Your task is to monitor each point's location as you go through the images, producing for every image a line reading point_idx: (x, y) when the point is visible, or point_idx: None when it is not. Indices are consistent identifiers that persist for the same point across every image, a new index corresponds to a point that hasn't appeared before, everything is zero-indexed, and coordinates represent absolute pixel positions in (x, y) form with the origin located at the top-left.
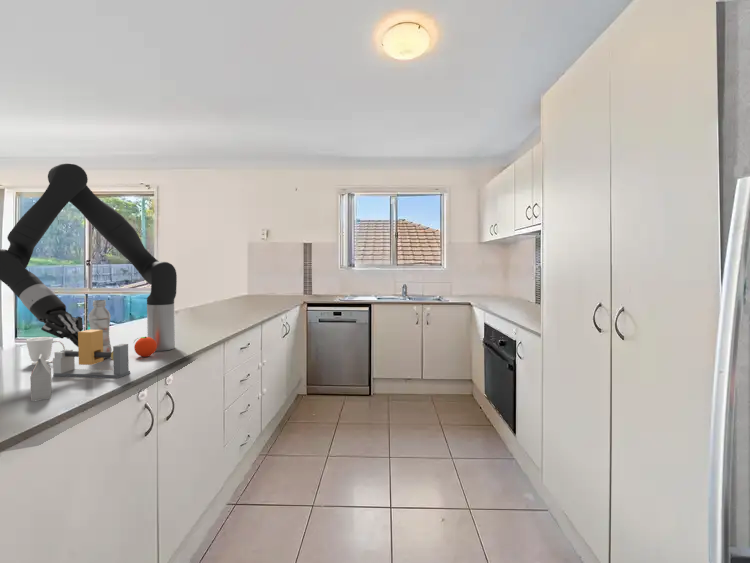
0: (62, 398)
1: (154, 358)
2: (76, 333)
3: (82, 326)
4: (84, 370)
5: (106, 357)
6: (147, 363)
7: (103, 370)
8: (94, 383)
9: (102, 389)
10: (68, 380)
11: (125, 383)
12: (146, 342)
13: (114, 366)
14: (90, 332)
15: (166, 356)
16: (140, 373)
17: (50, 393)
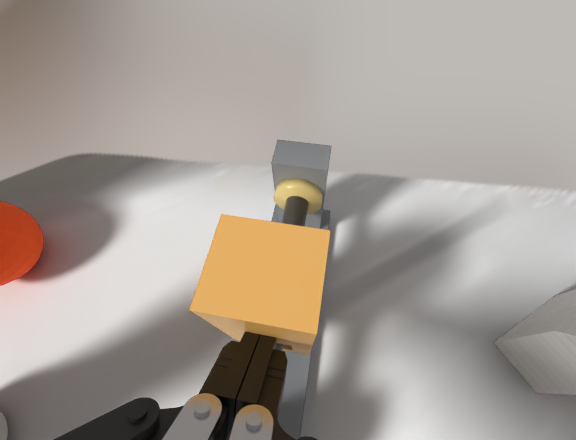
0: (543, 261)
1: (73, 218)
2: (240, 398)
3: (90, 424)
4: None
5: None
6: (148, 211)
7: None
8: (390, 254)
9: (443, 203)
10: (360, 368)
11: (382, 175)
12: (1, 215)
13: (321, 213)
14: (329, 235)
15: (56, 193)
16: None
17: (568, 291)
